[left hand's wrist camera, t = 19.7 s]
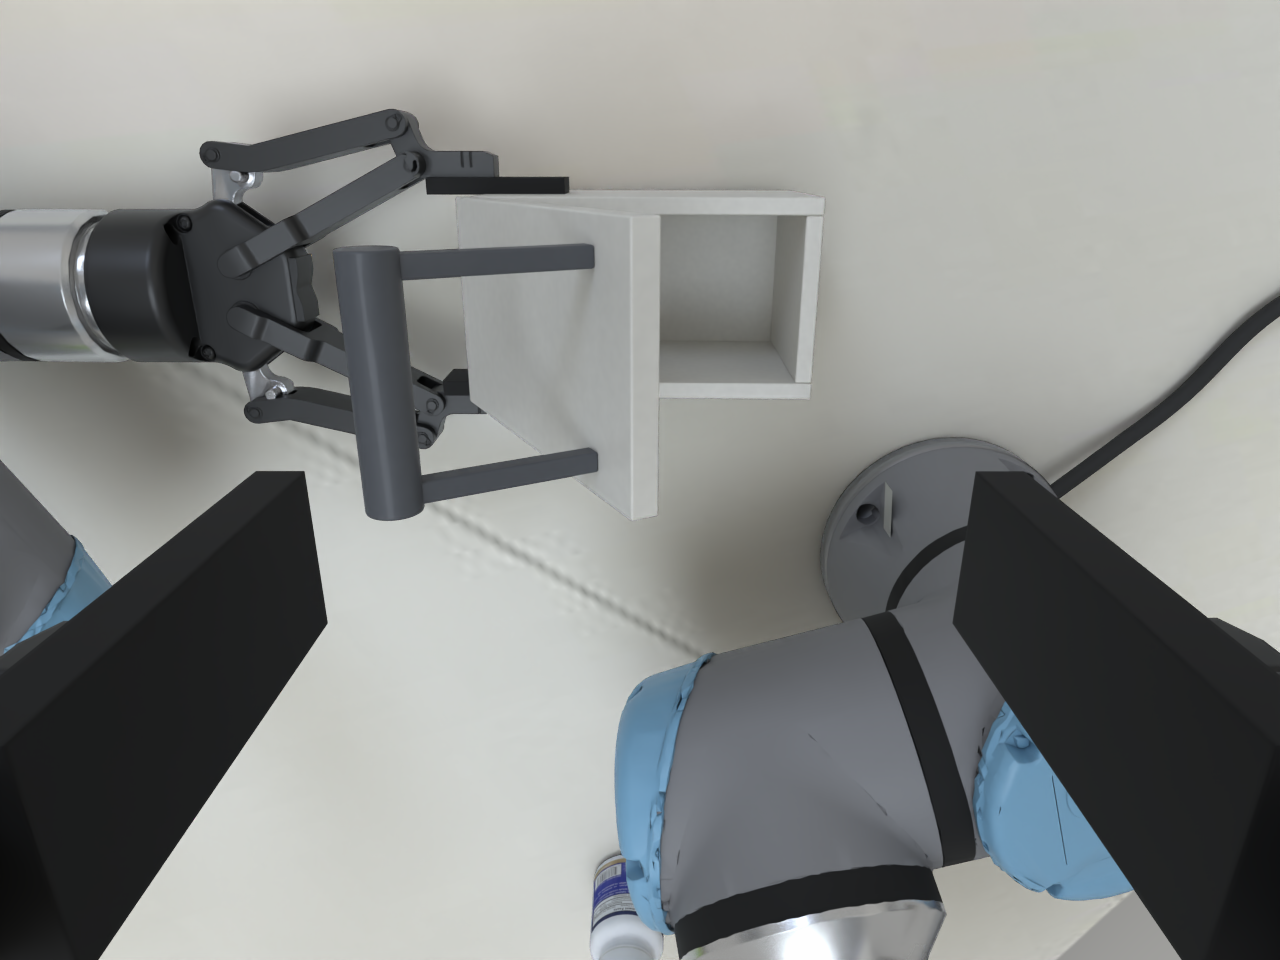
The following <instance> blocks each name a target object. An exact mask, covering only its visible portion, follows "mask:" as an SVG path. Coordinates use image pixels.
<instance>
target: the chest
mask: <svg viewBox="0 0 1280 960" xmlns="http://www.w3.org/2000/svg"><path fill="white" fill-rule="evenodd" d="M471 197H485V198H495V199H505V200H515V201H525V202H535V203H545V204H555V205H565V206H576V207H586V208H596V209H606V210H616V211H626V212H636V213H646V214H656V215H660V217H661V255H660V361H659V398H690V399H804V400H809V399H810V397H811V381H812V369H813V356H814V343H815V330H816V317H817V304H818V291H819V278H820V264H821V251H822V238H823V225H824V216H823V215H824V212H825V197H821V196H816V195H811V194H807V193H802V192H797V191H792V190H569V193H567V194H482V195H476V196H471Z"/></svg>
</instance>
